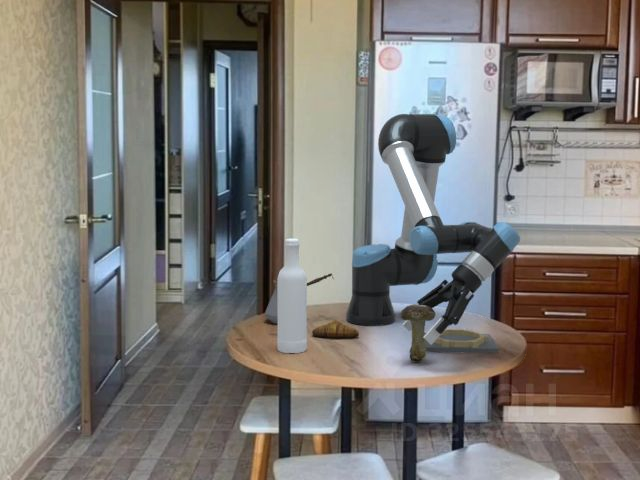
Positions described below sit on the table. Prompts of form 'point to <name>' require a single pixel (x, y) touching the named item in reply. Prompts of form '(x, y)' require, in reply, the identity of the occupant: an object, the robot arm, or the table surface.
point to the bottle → (292, 302)
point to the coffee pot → (272, 306)
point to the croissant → (335, 331)
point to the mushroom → (418, 328)
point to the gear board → (462, 342)
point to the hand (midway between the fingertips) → (416, 334)
